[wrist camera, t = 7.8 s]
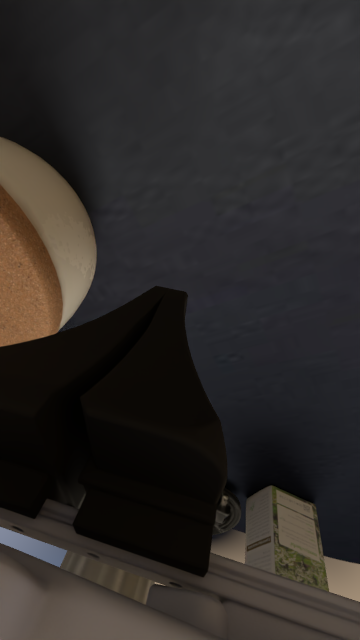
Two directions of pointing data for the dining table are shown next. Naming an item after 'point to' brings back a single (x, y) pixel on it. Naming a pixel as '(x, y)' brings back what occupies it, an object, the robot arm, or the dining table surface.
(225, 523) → the milk frother
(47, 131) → the dining table surface
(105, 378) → the robot arm
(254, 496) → the syrup box
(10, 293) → the trinket box
